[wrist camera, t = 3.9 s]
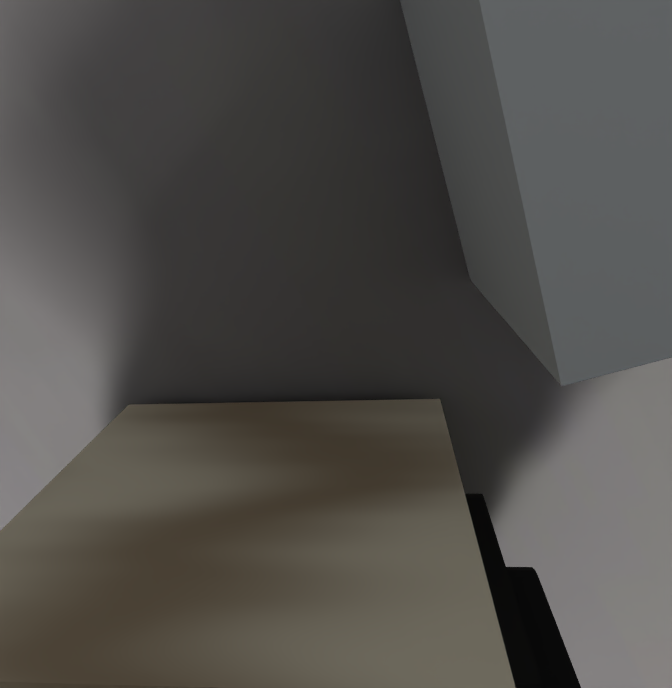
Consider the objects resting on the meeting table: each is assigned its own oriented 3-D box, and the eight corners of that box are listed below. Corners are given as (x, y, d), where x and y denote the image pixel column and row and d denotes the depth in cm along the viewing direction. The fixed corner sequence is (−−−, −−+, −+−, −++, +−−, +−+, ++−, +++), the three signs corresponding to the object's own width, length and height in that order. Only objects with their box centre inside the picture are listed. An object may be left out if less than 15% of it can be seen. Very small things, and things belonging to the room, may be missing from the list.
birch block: (439, 398, 10) (517, 695, 5) (437, 649, 12) (491, 1079, 6) (128, 404, 11) (-150, 678, 5) (173, 644, 13) (6, 1038, 7)
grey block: (729, -150, 8) (1268, -604, 3) (758, 192, 9) (1158, 229, 5) (394, -22, 9) (428, -236, 4) (469, 279, 10) (561, 386, 5)
